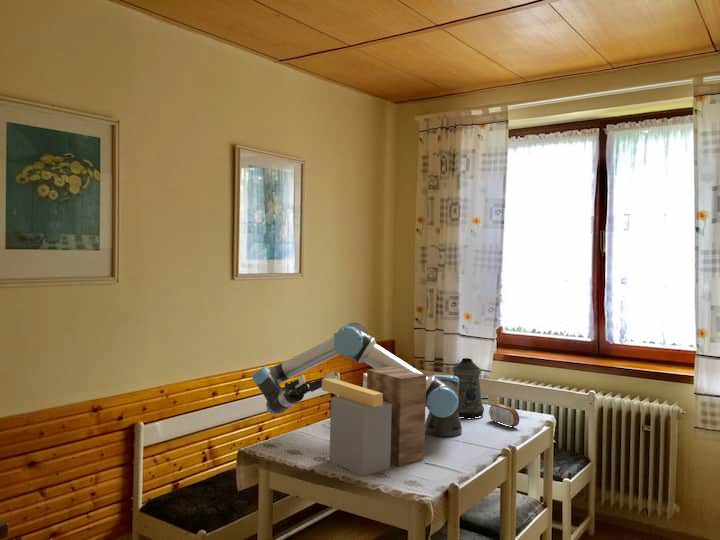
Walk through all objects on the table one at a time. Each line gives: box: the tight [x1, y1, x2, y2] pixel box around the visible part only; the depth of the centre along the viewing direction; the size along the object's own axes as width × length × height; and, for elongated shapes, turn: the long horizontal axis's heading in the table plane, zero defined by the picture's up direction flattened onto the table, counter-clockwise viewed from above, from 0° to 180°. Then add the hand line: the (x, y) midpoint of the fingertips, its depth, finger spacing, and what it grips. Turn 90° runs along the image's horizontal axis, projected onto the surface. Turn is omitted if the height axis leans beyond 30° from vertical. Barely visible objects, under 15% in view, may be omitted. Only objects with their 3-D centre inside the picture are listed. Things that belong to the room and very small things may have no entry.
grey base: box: [329, 395, 392, 477], centre depth 211 cm, size 18×12×22 cm, turn 39°
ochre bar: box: [321, 378, 383, 407], centre depth 215 cm, size 29×4×4 cm, turn 39°
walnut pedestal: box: [366, 367, 427, 467], centre depth 221 cm, size 18×12×30 cm, turn 39°
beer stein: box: [452, 357, 485, 418], centre depth 281 cm, size 16×19×25 cm
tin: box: [488, 402, 520, 428], centre depth 265 cm, size 15×3×8 cm, turn 35°
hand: (319, 376), depth 229 cm, fingers open, 13 cm apart
